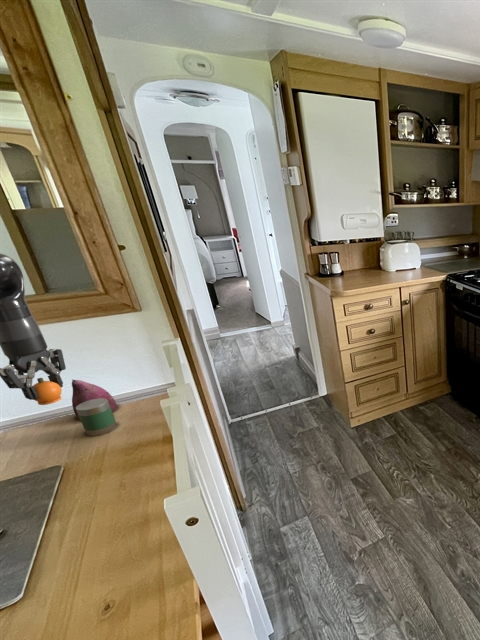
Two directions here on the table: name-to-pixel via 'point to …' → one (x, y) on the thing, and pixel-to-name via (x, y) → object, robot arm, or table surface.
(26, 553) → the table surface
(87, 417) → the tin
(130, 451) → the table surface
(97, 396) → the vegetable
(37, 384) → the pumpkin
